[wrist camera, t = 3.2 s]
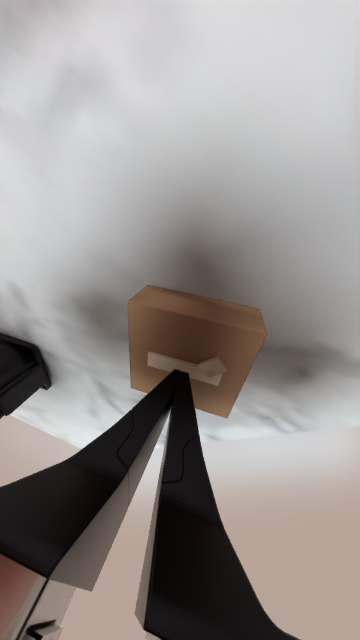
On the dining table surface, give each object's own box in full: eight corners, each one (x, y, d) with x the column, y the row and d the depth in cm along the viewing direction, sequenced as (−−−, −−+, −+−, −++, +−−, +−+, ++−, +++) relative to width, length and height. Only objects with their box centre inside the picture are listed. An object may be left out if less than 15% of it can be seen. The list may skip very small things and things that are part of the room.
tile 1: (147, 360, 15) (129, 390, 13) (150, 283, 12) (125, 302, 9) (228, 383, 14) (227, 421, 12) (258, 306, 11) (267, 336, 8)
